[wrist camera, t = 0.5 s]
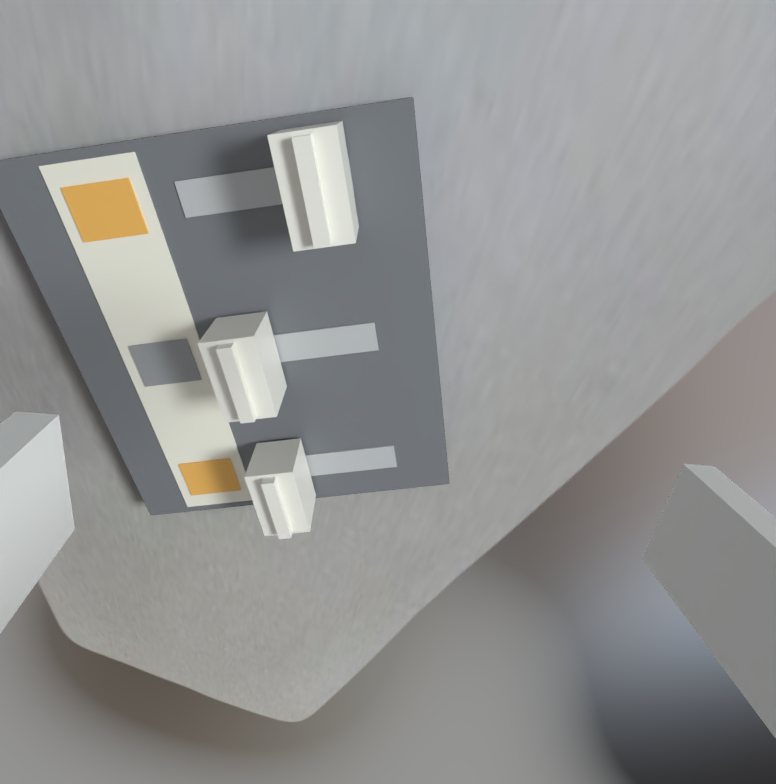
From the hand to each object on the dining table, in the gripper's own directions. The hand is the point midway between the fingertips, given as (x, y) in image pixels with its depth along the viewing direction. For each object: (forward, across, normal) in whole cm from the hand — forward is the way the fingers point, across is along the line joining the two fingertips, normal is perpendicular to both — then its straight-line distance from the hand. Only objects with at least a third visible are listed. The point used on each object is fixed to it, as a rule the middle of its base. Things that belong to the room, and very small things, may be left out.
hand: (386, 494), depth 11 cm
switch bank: (+23, -6, -5) cm, 24 cm away
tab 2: (+21, -6, -5) cm, 22 cm away
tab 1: (+19, -3, +5) cm, 20 cm away
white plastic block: (+21, -3, -14) cm, 26 cm away
